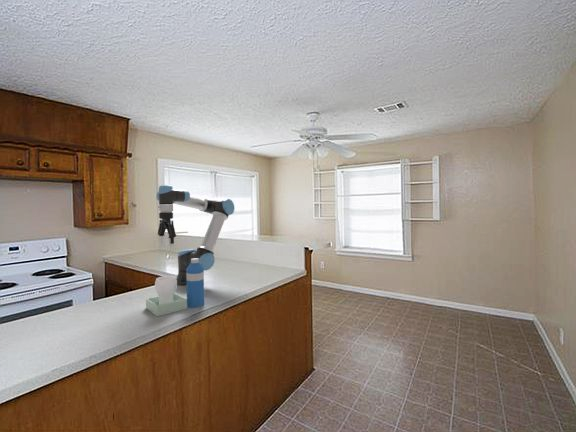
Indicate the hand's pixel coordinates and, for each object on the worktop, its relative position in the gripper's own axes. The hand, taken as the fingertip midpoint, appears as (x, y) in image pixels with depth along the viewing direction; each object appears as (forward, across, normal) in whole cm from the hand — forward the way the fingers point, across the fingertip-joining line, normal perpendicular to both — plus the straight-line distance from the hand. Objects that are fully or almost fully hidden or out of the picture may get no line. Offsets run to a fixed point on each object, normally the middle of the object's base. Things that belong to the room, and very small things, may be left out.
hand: (166, 248), depth 170 cm
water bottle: (+29, +25, +5) cm, 38 cm away
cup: (+28, +20, -8) cm, 35 cm away
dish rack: (+29, +20, -8) cm, 36 cm away
